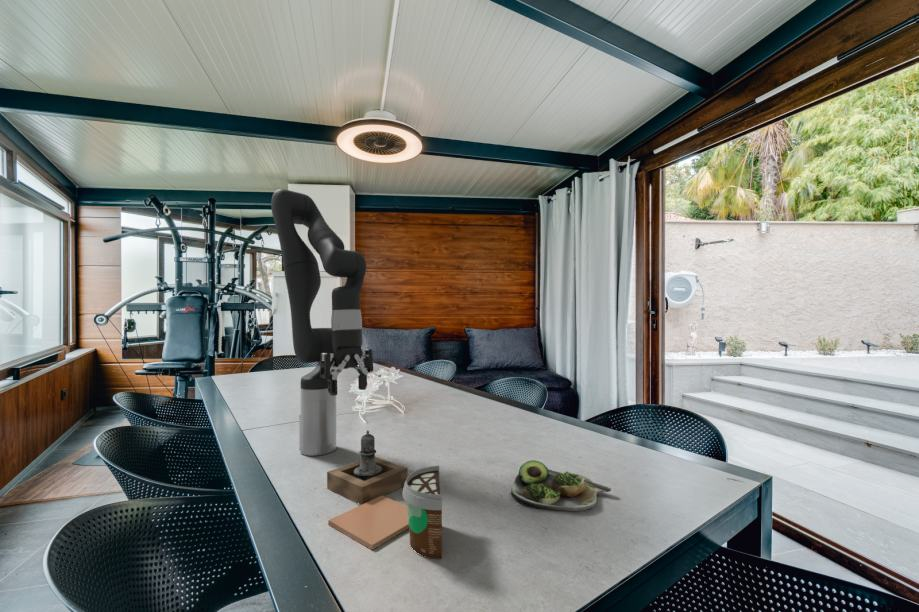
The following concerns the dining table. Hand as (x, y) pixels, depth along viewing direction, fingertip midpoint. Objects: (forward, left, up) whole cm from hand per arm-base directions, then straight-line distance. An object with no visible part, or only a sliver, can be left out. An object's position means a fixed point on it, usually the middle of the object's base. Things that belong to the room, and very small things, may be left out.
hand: (348, 392), depth 99 cm
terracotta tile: (+29, -14, -17) cm, 36 cm away
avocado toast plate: (+48, +16, -18) cm, 53 cm away
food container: (+39, -14, -18) cm, 45 cm away
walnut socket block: (+16, -6, -17) cm, 24 cm away
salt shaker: (+16, -6, -18) cm, 24 cm away
